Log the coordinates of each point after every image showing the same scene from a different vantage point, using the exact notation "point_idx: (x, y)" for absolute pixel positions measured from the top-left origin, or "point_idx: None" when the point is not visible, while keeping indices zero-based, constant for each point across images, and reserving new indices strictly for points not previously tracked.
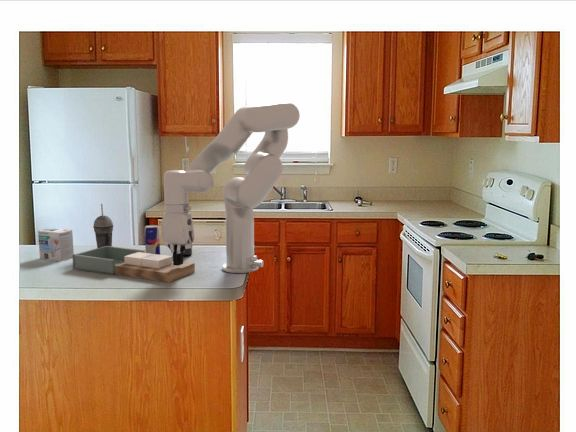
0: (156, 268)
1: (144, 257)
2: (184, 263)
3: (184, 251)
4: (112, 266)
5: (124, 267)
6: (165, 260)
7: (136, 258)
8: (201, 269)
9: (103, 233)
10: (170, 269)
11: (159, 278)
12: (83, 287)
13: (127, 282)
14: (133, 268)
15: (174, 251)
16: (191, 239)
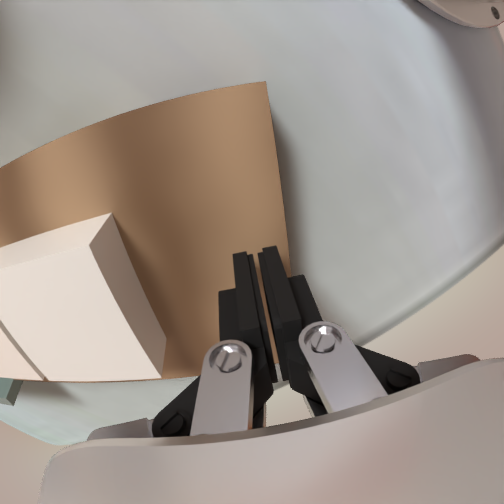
0: None
1: (23, 356)
2: (189, 144)
3: (339, 328)
4: (19, 385)
5: (46, 379)
6: (133, 315)
7: (25, 377)
8: (246, 8)
9: None
10: None
11: None
12: None
13: (147, 389)
14: (83, 381)
15: (264, 398)
16: (500, 391)
